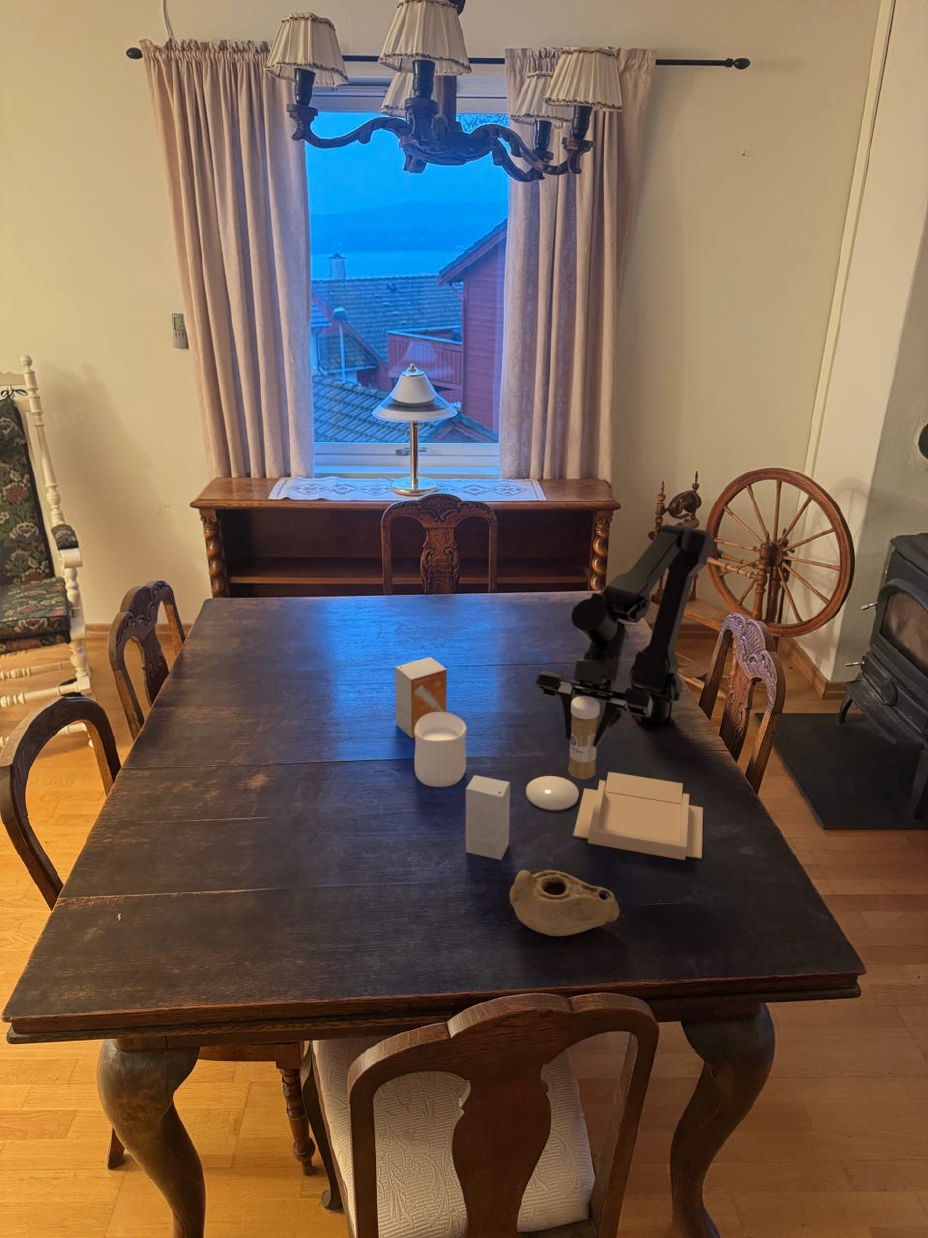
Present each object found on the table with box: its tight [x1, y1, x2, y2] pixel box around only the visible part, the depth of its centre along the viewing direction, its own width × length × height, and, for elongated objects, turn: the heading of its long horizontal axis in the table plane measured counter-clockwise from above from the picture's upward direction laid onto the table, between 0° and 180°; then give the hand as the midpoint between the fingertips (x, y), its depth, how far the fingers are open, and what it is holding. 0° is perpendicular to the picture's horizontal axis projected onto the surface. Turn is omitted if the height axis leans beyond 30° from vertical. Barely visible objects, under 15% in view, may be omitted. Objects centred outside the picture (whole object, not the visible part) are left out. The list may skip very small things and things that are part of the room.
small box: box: [394, 656, 448, 739], centre depth 163 cm, size 8×6×13 cm
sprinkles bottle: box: [568, 696, 601, 780], centre depth 138 cm, size 5×5×13 cm
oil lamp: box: [509, 869, 620, 937], centre depth 118 cm, size 11×15×8 cm
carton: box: [573, 771, 704, 861], centre depth 141 cm, size 20×20×2 cm
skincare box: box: [465, 774, 511, 861], centre depth 131 cm, size 6×4×12 cm
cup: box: [414, 711, 468, 788], centre depth 150 cm, size 10×10×10 cm
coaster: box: [525, 775, 580, 811], centre depth 146 cm, size 9×9×1 cm
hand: (581, 743), depth 137 cm, fingers closed on sprinkles bottle, 4 cm apart
